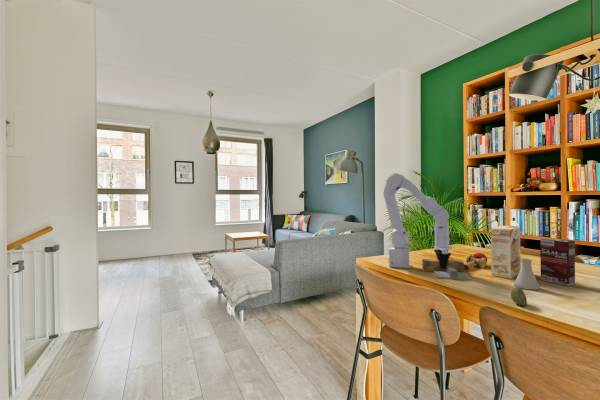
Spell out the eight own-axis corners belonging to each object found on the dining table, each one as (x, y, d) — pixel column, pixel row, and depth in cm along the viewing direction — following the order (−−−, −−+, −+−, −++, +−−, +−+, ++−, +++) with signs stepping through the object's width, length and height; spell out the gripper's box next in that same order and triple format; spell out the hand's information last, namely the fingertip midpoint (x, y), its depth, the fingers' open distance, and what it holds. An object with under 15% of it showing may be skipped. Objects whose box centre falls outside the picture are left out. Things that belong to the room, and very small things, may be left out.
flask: (542, 291, 93) (541, 262, 93) (515, 288, 96) (514, 260, 96) (537, 285, 99) (537, 258, 99) (512, 283, 103) (511, 256, 103)
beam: (423, 270, 123) (423, 260, 123) (422, 268, 126) (422, 258, 126) (464, 272, 118) (463, 262, 118) (461, 270, 122) (461, 260, 122)
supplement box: (539, 280, 105) (539, 238, 105) (547, 278, 107) (546, 237, 107) (569, 286, 97) (568, 241, 97) (576, 284, 99) (575, 240, 99)
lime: (524, 302, 84) (524, 285, 84) (533, 308, 79) (533, 291, 79) (507, 301, 85) (507, 285, 85) (515, 307, 81) (515, 290, 81)
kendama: (477, 276, 117) (493, 263, 128) (473, 261, 118) (489, 250, 128) (459, 275, 123) (475, 263, 134) (455, 261, 124) (471, 250, 135)
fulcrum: (437, 278, 111) (437, 270, 111) (434, 272, 119) (433, 264, 119) (471, 280, 107) (471, 272, 107) (465, 274, 115) (465, 266, 115)
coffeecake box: (511, 279, 107) (510, 229, 107) (490, 275, 113) (489, 228, 113) (521, 272, 117) (520, 226, 117) (501, 269, 122) (500, 225, 122)
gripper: (455, 239, 114) (456, 271, 114) (448, 234, 128) (449, 263, 128) (436, 238, 116) (437, 270, 116) (431, 234, 130) (432, 262, 130)
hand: (442, 267), depth 122 cm, fingers closed on beam, 4 cm apart
